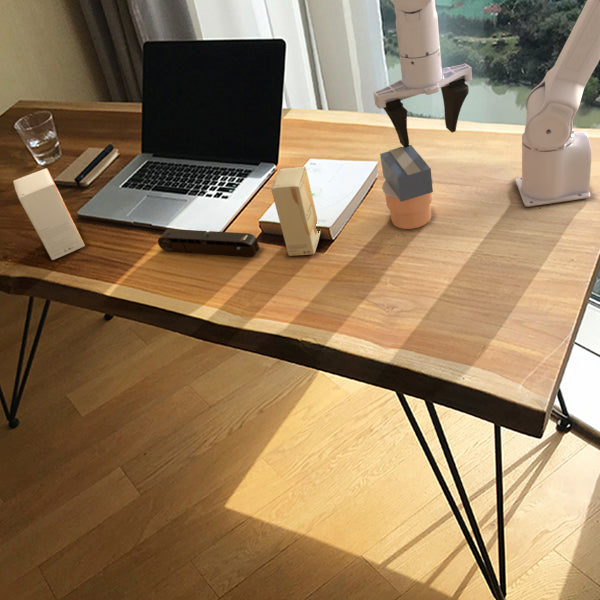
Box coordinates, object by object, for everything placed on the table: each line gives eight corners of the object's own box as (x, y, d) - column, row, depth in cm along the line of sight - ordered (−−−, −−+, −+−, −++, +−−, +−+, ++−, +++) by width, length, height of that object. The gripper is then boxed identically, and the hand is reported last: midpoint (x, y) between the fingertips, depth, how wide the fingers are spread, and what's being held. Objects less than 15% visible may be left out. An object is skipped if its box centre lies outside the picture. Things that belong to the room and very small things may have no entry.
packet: (383, 176, 106) (379, 153, 104) (413, 167, 107) (410, 143, 104) (400, 201, 100) (397, 177, 97) (433, 192, 100) (430, 167, 97)
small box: (86, 246, 121) (54, 183, 113) (51, 261, 120) (17, 198, 112) (77, 227, 127) (46, 166, 119) (44, 241, 126) (11, 180, 118)
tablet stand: (160, 251, 115) (154, 237, 113) (168, 242, 117) (162, 228, 115) (254, 258, 108) (249, 242, 106) (260, 248, 109) (256, 233, 107)
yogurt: (433, 201, 109) (429, 167, 106) (438, 227, 104) (435, 193, 100) (385, 208, 111) (381, 175, 107) (388, 235, 105) (383, 201, 101)
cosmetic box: (314, 255, 105) (298, 187, 97) (288, 257, 106) (269, 190, 98) (321, 231, 109) (306, 164, 102) (295, 233, 111) (278, 167, 103)
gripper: (381, 74, 92) (393, 162, 101) (480, 43, 93) (483, 132, 102) (364, 58, 98) (376, 143, 106) (457, 29, 99) (462, 115, 107)
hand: (427, 137), depth 104 cm, fingers open, 7 cm apart
